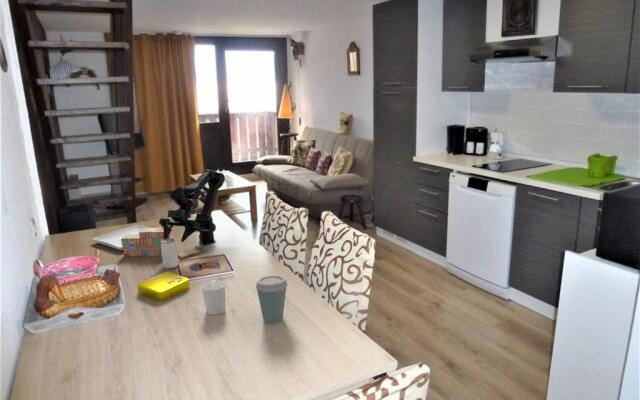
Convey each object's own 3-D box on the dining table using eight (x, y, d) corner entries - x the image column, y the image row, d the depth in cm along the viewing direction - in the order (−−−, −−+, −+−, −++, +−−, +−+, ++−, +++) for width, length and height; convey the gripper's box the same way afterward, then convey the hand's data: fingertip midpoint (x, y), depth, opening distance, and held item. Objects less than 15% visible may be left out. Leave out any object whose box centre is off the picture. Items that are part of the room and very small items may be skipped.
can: (165, 263, 209) (162, 238, 206) (180, 262, 209) (176, 238, 206) (162, 269, 202) (158, 243, 199) (176, 268, 203) (173, 242, 200)
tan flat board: (196, 248, 227) (196, 245, 226) (204, 252, 221) (204, 249, 221) (174, 254, 219) (173, 252, 219) (181, 259, 213) (181, 256, 213)
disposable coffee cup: (254, 315, 159) (251, 276, 155) (283, 308, 163) (281, 269, 159) (263, 330, 150) (260, 288, 146) (294, 322, 154) (291, 281, 150)
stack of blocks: (123, 256, 220) (119, 232, 217) (129, 252, 226) (125, 228, 223) (167, 255, 219) (163, 231, 216) (171, 251, 225) (168, 227, 222)
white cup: (231, 306, 166) (228, 281, 164) (219, 317, 159) (217, 291, 156) (212, 304, 169) (209, 279, 166) (200, 314, 162) (197, 288, 159)
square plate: (137, 230, 260) (137, 223, 259) (167, 238, 245) (166, 231, 244) (91, 244, 239) (90, 237, 238) (121, 254, 224) (119, 246, 223)
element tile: (168, 280, 192) (167, 269, 191) (192, 288, 183) (190, 277, 182) (136, 294, 180) (135, 283, 179) (160, 303, 172) (158, 292, 170)
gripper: (158, 201, 210) (146, 231, 203) (193, 203, 204) (182, 234, 197) (170, 213, 219) (159, 242, 212) (204, 215, 214) (194, 245, 206)
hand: (173, 240), depth 206 cm, fingers open, 9 cm apart
